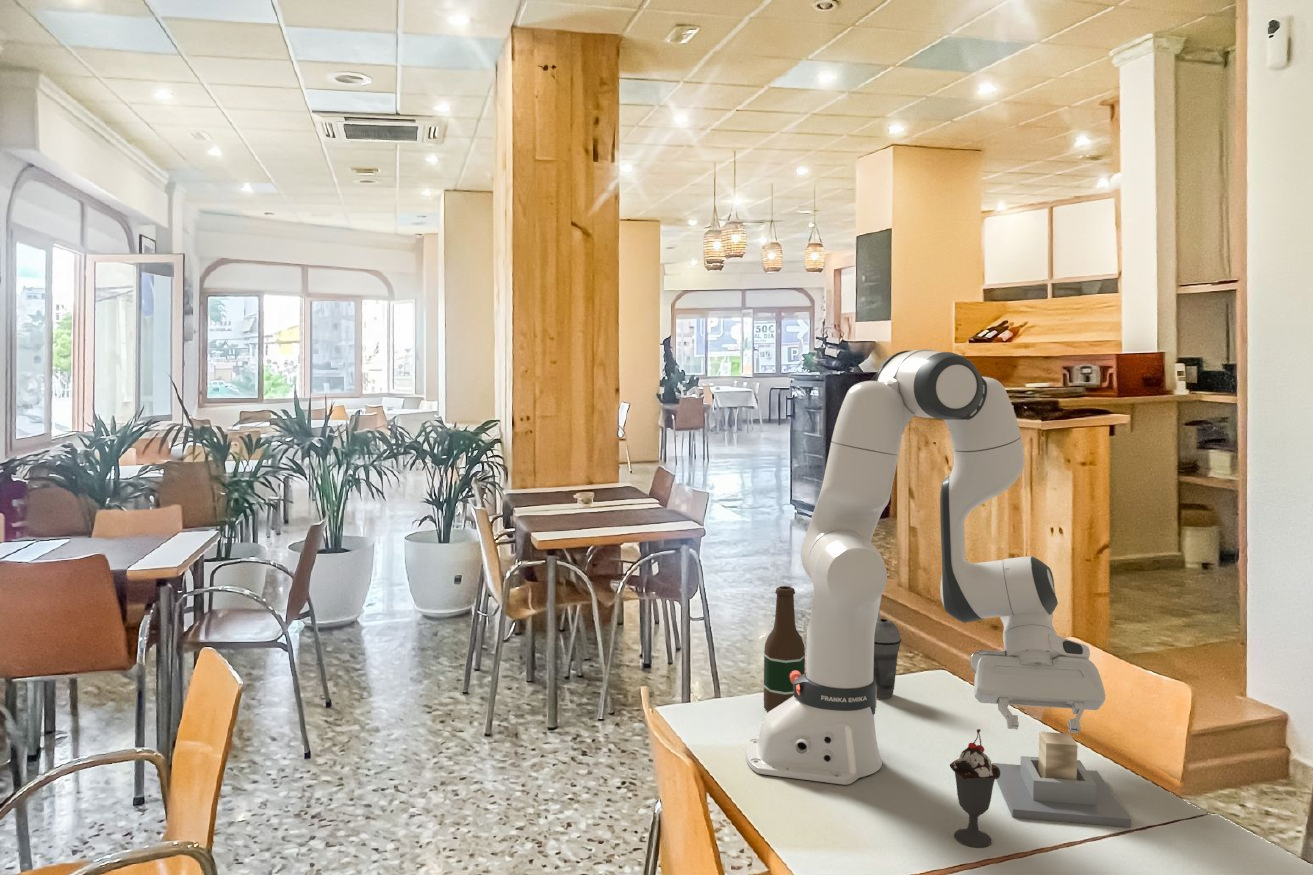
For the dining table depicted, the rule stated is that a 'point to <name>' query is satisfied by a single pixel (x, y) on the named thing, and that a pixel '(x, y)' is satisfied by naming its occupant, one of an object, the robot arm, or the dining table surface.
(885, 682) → the beverage cup
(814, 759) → the robot arm
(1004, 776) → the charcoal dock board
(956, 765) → the sundae
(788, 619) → the beer bottle
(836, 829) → the dining table surface
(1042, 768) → the wooden block
